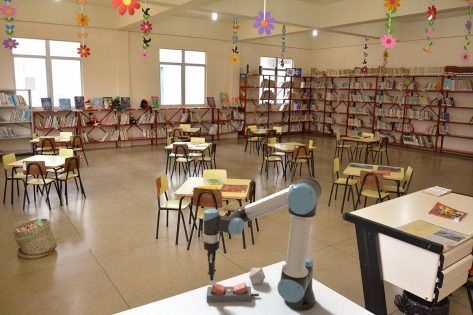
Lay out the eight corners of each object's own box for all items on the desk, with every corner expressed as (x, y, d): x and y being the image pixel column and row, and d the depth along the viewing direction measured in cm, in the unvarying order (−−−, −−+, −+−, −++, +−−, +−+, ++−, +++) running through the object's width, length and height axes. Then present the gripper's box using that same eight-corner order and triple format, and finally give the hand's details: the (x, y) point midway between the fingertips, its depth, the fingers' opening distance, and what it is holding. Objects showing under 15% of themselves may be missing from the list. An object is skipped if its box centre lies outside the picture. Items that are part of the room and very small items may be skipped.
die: (260, 290, 194) (269, 273, 195) (245, 281, 194) (255, 264, 196) (258, 287, 202) (268, 271, 204) (244, 278, 203) (254, 262, 204)
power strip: (258, 292, 190) (258, 285, 190) (259, 301, 183) (259, 294, 182) (207, 292, 190) (207, 286, 190) (206, 302, 183) (206, 294, 182)
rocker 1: (223, 290, 188) (224, 286, 188) (222, 295, 184) (224, 290, 183) (211, 286, 188) (213, 282, 187) (211, 291, 183) (212, 287, 183)
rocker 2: (246, 286, 188) (244, 282, 187) (246, 291, 183) (244, 287, 183) (235, 290, 188) (233, 286, 188) (235, 295, 184) (233, 290, 183)
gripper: (204, 235, 187) (205, 277, 192) (202, 246, 174) (203, 292, 179) (219, 235, 187) (220, 277, 192) (218, 246, 174) (218, 292, 179)
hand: (211, 284), depth 185 cm, fingers closed
